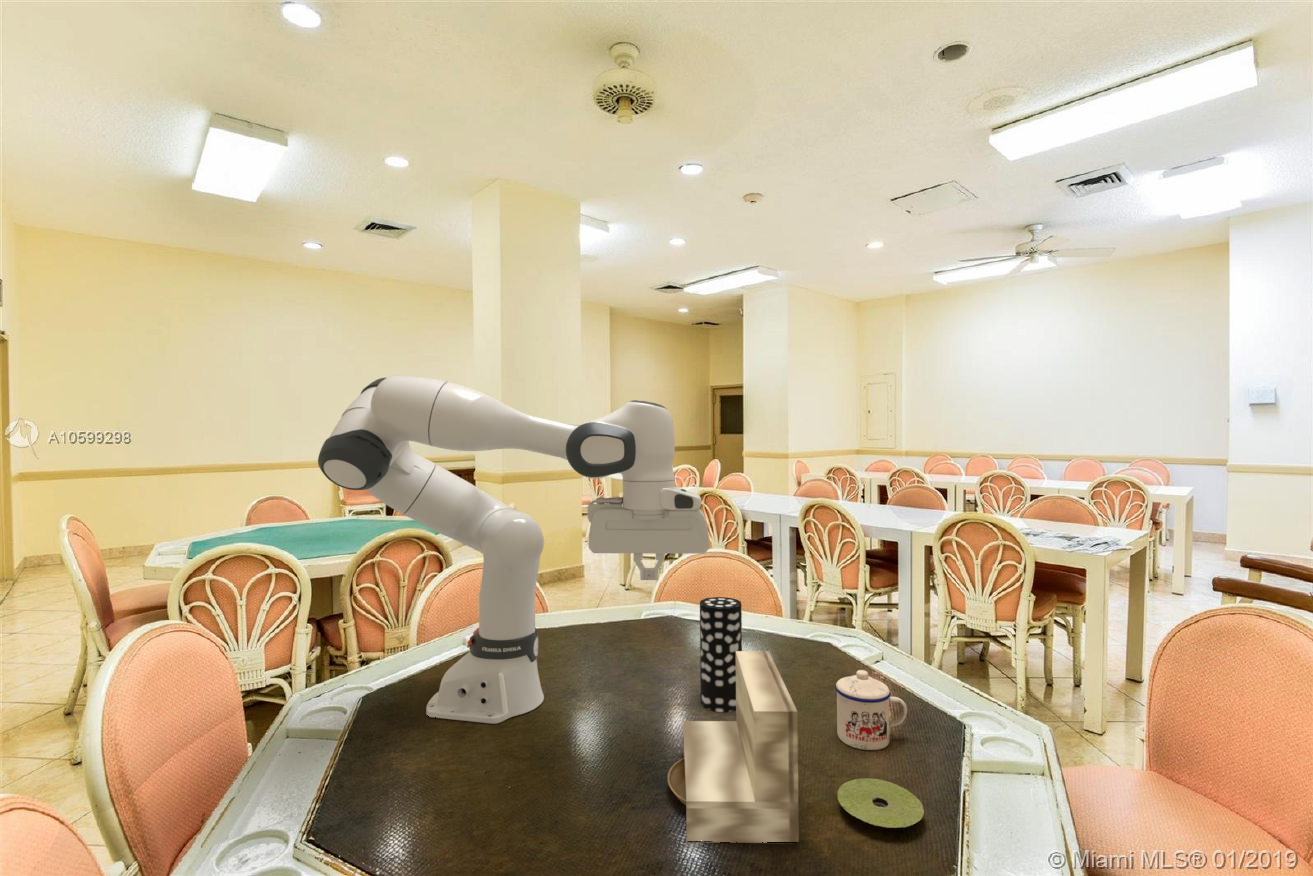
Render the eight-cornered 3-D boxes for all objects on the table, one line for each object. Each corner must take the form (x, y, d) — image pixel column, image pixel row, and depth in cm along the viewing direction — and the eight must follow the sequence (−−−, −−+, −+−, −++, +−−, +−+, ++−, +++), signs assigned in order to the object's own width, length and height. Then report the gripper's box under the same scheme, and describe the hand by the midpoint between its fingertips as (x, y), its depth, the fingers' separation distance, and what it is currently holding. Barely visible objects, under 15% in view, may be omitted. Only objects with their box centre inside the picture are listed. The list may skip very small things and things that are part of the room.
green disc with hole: (852, 842, 76) (852, 827, 76) (827, 791, 87) (827, 777, 87) (939, 841, 76) (939, 826, 76) (903, 790, 87) (902, 777, 87)
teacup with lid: (842, 751, 98) (841, 681, 98) (831, 725, 107) (830, 661, 107) (916, 753, 97) (915, 683, 97) (898, 727, 106) (897, 663, 106)
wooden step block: (686, 842, 76) (685, 711, 76) (683, 752, 98) (682, 651, 98) (798, 843, 76) (797, 711, 76) (770, 753, 98) (769, 651, 98)
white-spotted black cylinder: (741, 714, 112) (740, 609, 112) (698, 710, 114) (697, 607, 114) (743, 695, 120) (742, 598, 120) (703, 692, 122) (702, 596, 122)
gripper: (584, 499, 96) (584, 583, 96) (709, 499, 95) (710, 584, 95) (590, 495, 102) (590, 575, 102) (707, 495, 101) (708, 575, 101)
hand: (649, 579), depth 98 cm, fingers closed
